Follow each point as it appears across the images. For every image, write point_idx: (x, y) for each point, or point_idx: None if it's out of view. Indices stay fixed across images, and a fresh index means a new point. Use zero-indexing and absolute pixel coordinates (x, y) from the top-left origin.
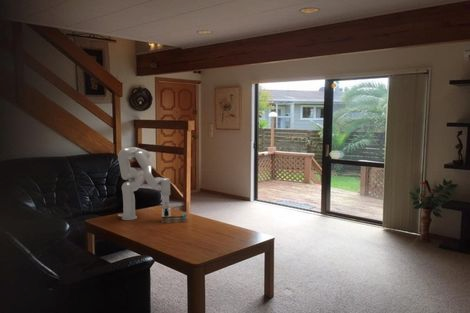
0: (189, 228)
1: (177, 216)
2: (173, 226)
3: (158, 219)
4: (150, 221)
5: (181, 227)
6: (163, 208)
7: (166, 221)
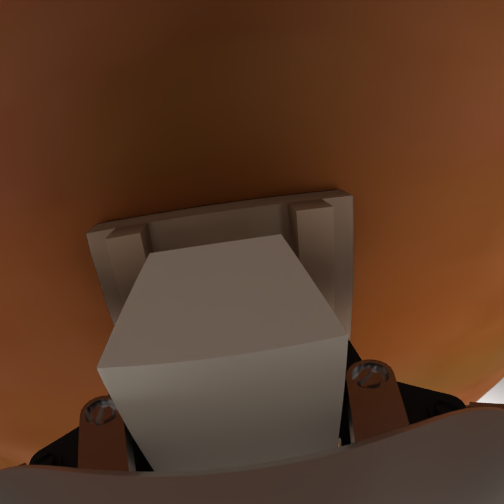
0: (24, 455)
1: None
2: (17, 370)
3: (361, 132)
4: (238, 13)
5: (20, 421)
6: (282, 399)
7: (109, 306)
